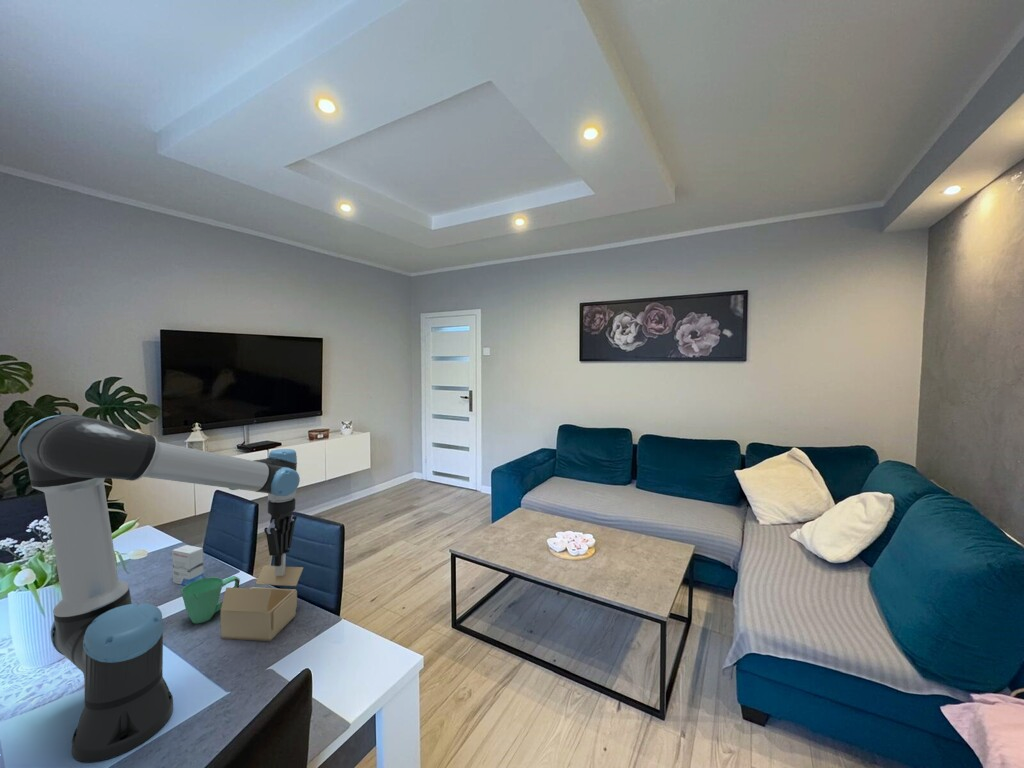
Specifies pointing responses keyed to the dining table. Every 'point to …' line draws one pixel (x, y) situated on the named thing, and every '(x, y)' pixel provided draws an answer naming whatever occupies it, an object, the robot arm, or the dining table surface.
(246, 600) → the flap near
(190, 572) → the ink box
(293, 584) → the flap far
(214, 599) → the mug
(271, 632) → the carton
